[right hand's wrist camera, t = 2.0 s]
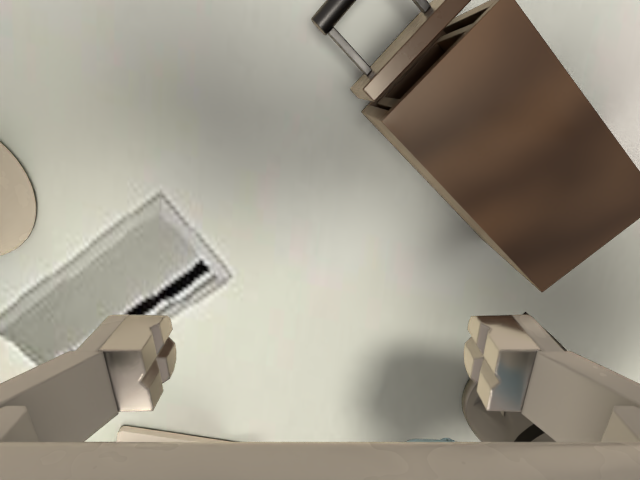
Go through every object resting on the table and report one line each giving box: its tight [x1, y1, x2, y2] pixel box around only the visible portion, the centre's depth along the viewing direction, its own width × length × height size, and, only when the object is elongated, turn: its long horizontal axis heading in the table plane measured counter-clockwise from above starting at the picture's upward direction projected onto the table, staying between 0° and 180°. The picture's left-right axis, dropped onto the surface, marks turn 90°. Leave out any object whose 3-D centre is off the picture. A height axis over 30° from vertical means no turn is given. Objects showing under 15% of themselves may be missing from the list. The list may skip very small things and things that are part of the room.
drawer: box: [311, 0, 472, 111], centre depth 31 cm, size 24×9×10 cm, turn 46°
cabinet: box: [362, 0, 640, 292], centre depth 32 cm, size 19×10×12 cm, turn 46°
